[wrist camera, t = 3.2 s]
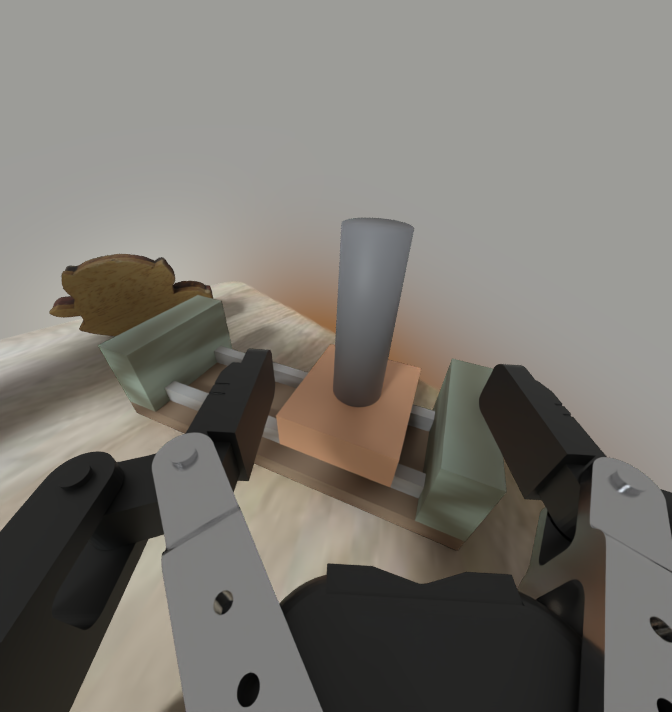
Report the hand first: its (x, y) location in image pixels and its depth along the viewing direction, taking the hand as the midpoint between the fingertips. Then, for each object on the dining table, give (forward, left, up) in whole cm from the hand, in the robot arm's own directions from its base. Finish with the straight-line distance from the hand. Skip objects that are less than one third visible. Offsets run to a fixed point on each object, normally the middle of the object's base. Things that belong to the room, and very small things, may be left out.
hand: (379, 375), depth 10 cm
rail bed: (-7, +7, -14) cm, 17 cm away
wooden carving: (-32, +12, -14) cm, 37 cm away
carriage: (-2, +7, -10) cm, 12 cm away
